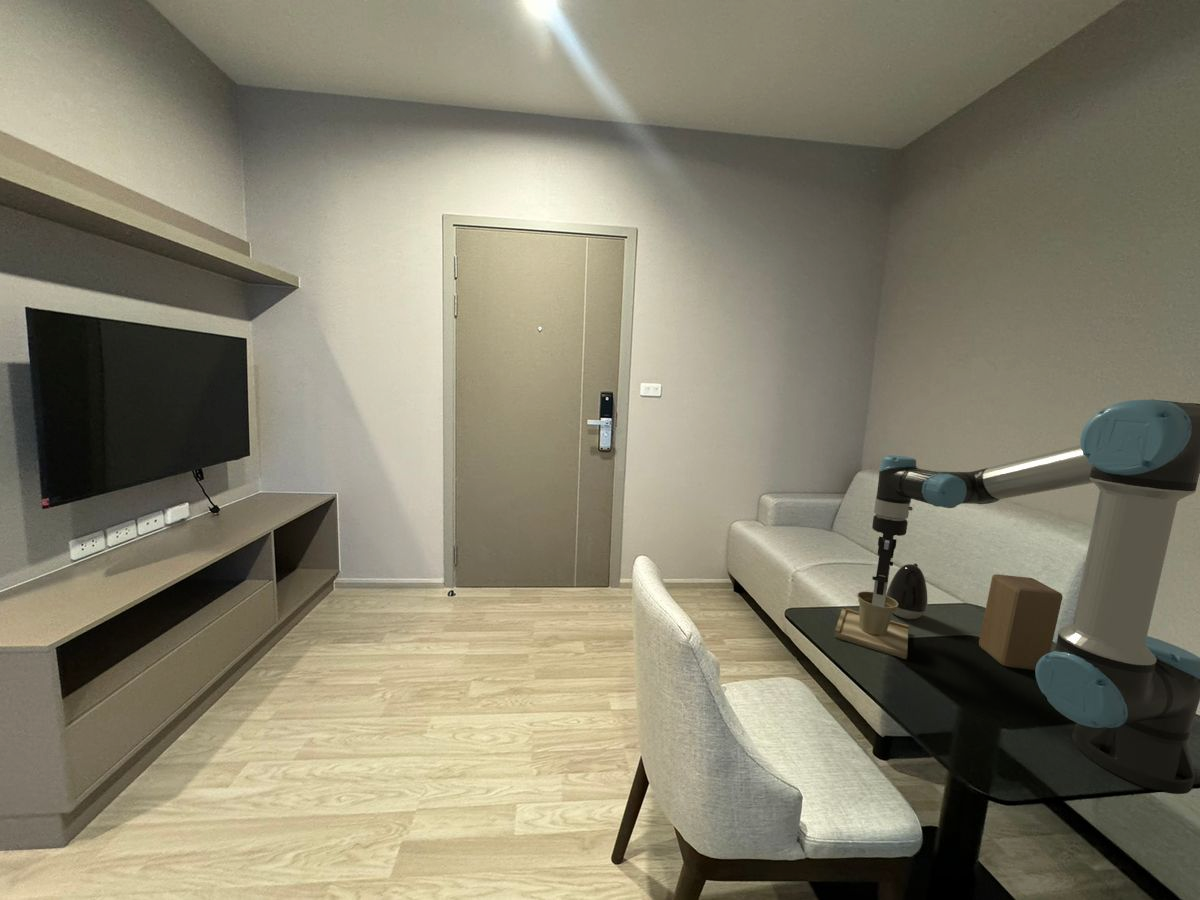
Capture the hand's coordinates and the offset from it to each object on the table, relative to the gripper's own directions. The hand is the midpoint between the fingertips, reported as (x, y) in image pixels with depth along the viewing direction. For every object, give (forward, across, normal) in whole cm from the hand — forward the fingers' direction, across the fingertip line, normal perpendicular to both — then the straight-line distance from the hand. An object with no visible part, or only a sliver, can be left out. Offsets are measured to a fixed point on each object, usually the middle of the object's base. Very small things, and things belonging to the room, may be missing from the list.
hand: (879, 597), depth 129 cm
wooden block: (+12, +11, -29) cm, 33 cm away
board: (+11, +1, +1) cm, 11 cm away
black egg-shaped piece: (+11, +21, -6) cm, 24 cm away
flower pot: (+10, 0, +1) cm, 10 cm away
